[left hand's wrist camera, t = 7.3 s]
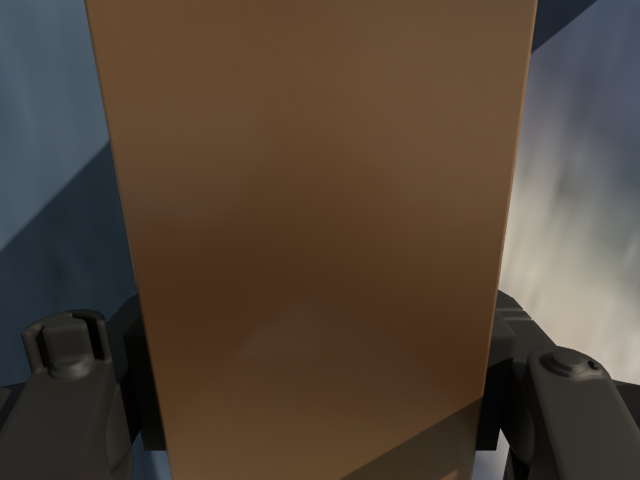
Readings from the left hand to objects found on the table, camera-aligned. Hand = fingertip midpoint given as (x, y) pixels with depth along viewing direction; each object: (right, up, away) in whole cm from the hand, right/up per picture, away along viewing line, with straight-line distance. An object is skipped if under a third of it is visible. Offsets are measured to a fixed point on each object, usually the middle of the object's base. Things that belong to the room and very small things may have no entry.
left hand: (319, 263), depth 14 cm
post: (0, -18, +7) cm, 19 cm away
